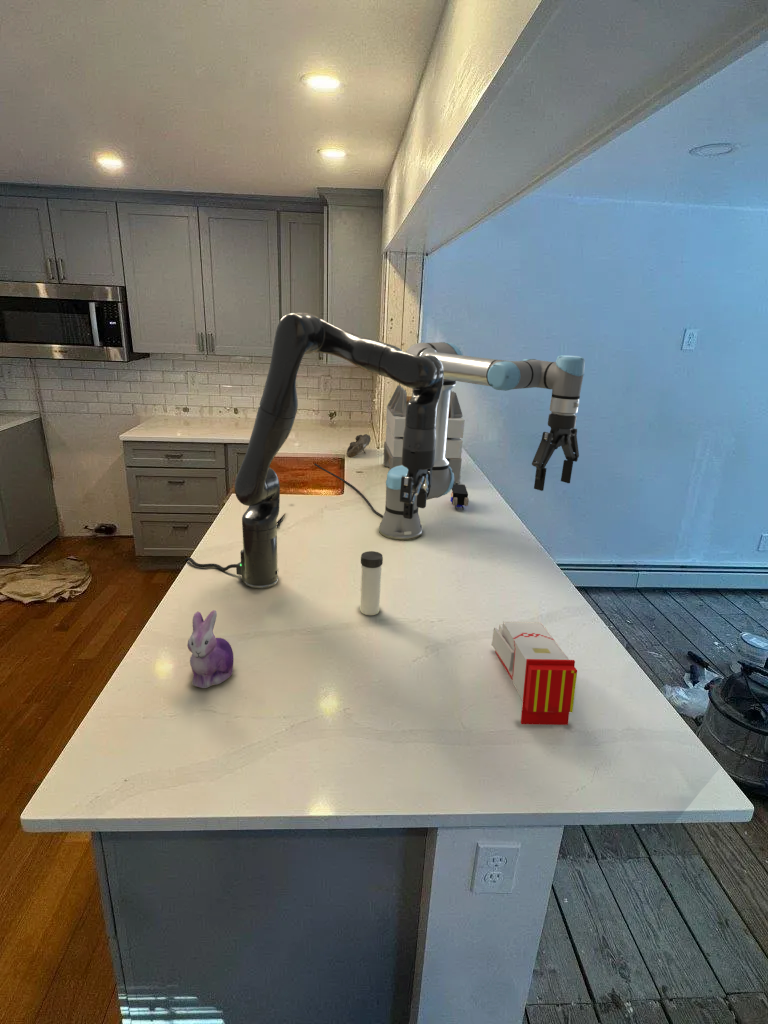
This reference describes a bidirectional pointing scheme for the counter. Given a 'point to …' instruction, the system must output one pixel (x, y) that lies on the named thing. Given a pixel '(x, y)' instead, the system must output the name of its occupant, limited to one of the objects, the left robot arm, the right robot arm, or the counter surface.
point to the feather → (280, 520)
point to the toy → (537, 671)
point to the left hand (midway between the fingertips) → (414, 512)
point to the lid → (371, 559)
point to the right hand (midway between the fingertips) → (552, 485)
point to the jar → (370, 590)
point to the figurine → (209, 653)
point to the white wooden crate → (397, 426)
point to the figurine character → (459, 496)
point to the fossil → (358, 445)
